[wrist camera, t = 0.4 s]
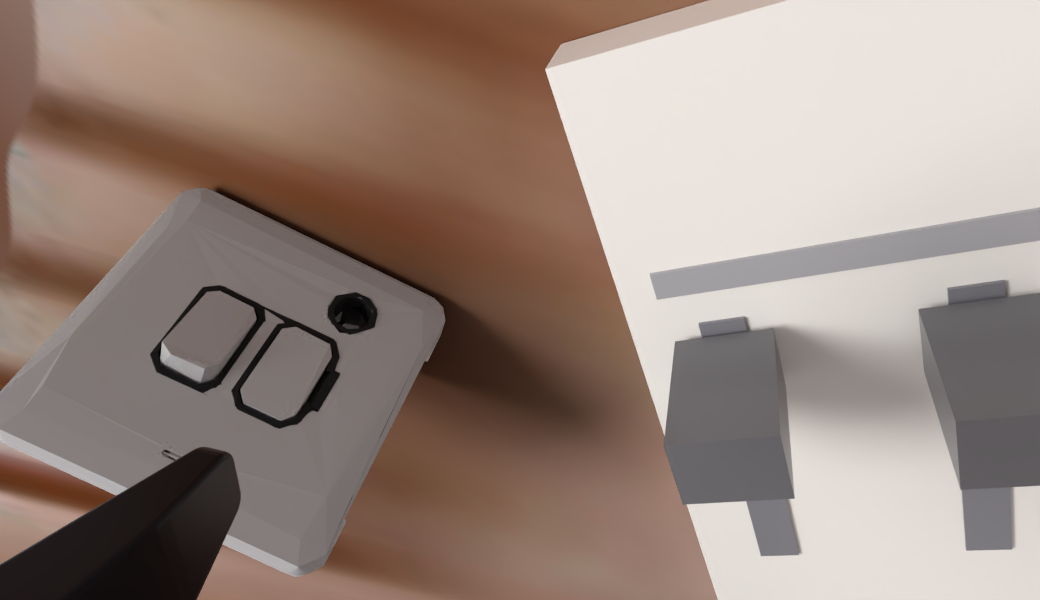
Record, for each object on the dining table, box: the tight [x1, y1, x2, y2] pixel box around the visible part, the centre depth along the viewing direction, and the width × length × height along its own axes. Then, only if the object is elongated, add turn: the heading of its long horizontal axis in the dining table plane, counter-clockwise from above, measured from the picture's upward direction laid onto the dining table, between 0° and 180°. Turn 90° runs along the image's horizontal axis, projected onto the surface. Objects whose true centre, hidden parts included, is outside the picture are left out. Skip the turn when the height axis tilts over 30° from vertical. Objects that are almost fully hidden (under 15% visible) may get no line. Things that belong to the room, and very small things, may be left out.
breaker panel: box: [545, 0, 1040, 600], centre depth 21 cm, size 23×17×2 cm
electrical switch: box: [0, 188, 445, 577], centre depth 23 cm, size 9×5×9 cm, turn 67°
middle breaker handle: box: [918, 293, 1040, 490], centre depth 17 cm, size 2×3×4 cm
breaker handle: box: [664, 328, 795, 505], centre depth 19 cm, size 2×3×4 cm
